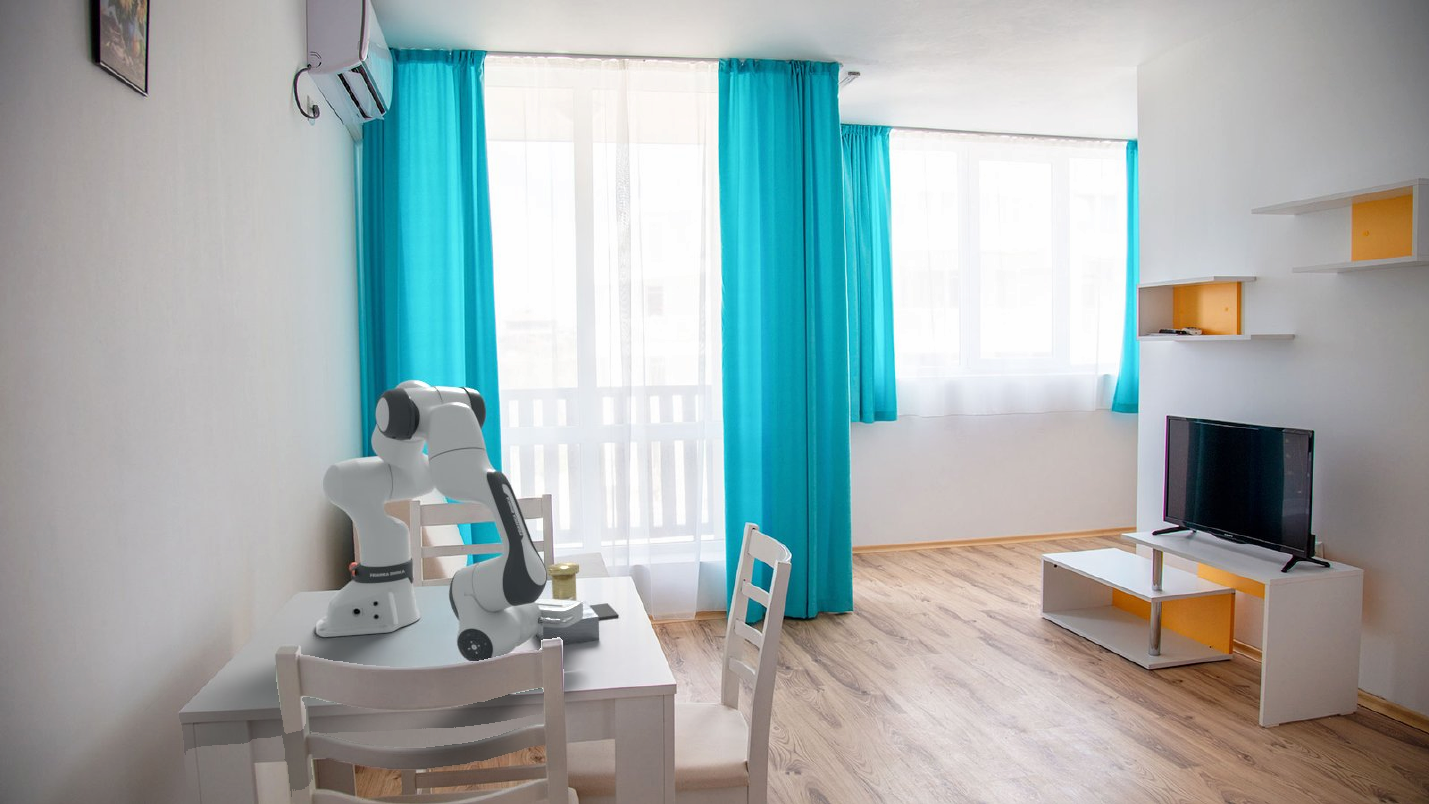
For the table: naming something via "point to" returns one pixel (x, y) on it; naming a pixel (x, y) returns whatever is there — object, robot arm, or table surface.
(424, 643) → the table surface
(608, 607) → the mat
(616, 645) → the table surface
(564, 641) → the housing
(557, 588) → the brass flanged peg
